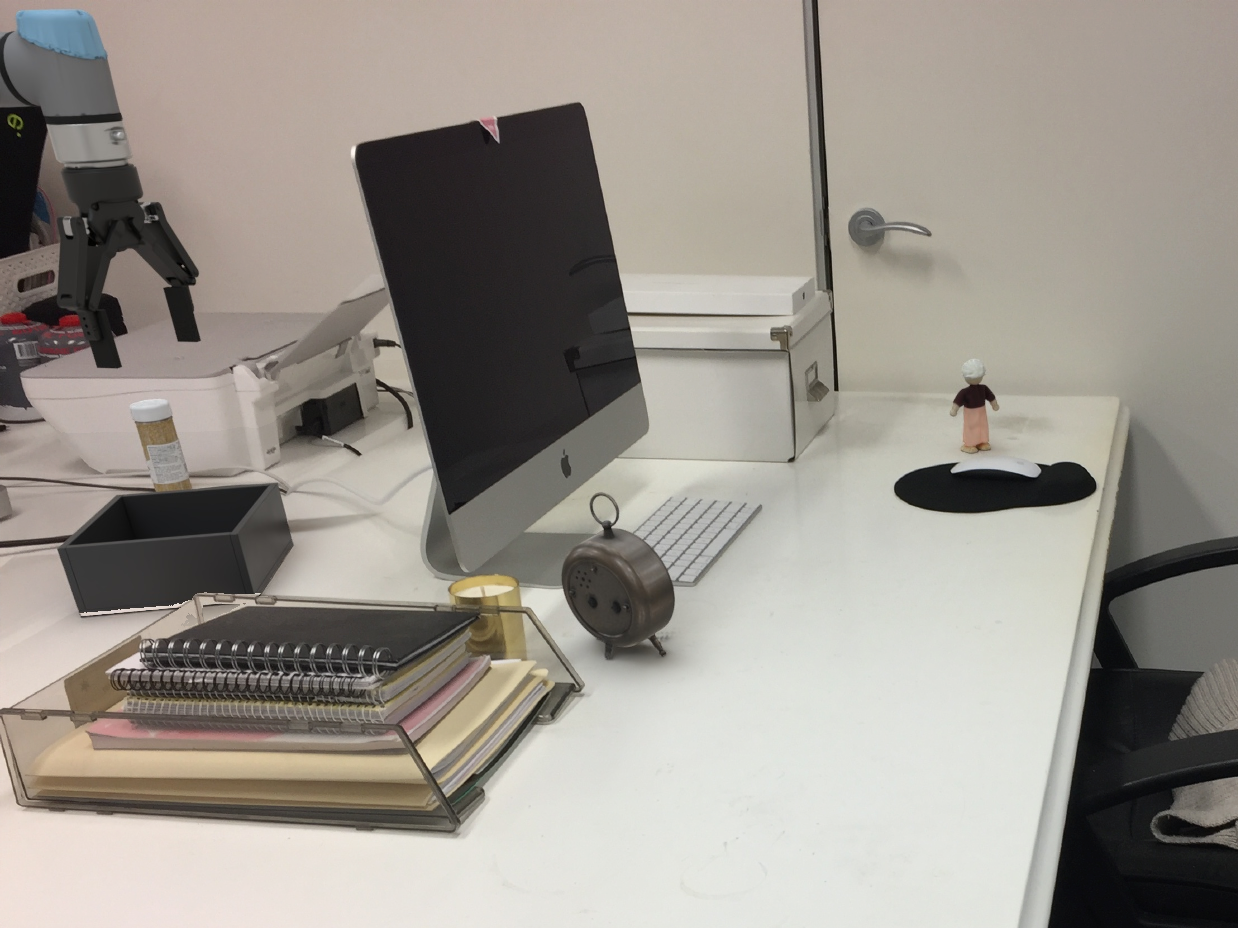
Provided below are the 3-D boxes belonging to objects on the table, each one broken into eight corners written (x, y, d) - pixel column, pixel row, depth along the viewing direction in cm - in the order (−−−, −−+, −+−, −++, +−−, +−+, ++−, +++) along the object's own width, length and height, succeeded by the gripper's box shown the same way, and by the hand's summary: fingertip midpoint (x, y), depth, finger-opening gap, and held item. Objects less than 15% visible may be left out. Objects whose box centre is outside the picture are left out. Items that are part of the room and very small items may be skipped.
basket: (80, 617, 139) (56, 548, 135) (136, 558, 154) (116, 494, 150) (256, 601, 141) (237, 533, 138) (293, 544, 157) (277, 482, 153)
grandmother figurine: (984, 441, 188) (984, 352, 182) (1002, 446, 185) (1003, 356, 179) (943, 452, 183) (942, 361, 178) (961, 458, 181) (961, 366, 175)
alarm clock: (684, 652, 127) (666, 492, 120) (647, 674, 123) (626, 510, 116) (600, 630, 132) (577, 475, 125) (562, 650, 128) (536, 492, 121)
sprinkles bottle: (163, 499, 173) (133, 399, 167) (200, 496, 174) (172, 396, 168) (154, 511, 169) (123, 408, 163) (193, 507, 170) (163, 405, 164)
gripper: (39, 175, 135) (101, 380, 145) (200, 152, 157) (245, 331, 167) (-22, 175, 137) (43, 378, 146) (146, 152, 158) (193, 330, 168)
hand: (151, 354), depth 156 cm, fingers open, 13 cm apart
